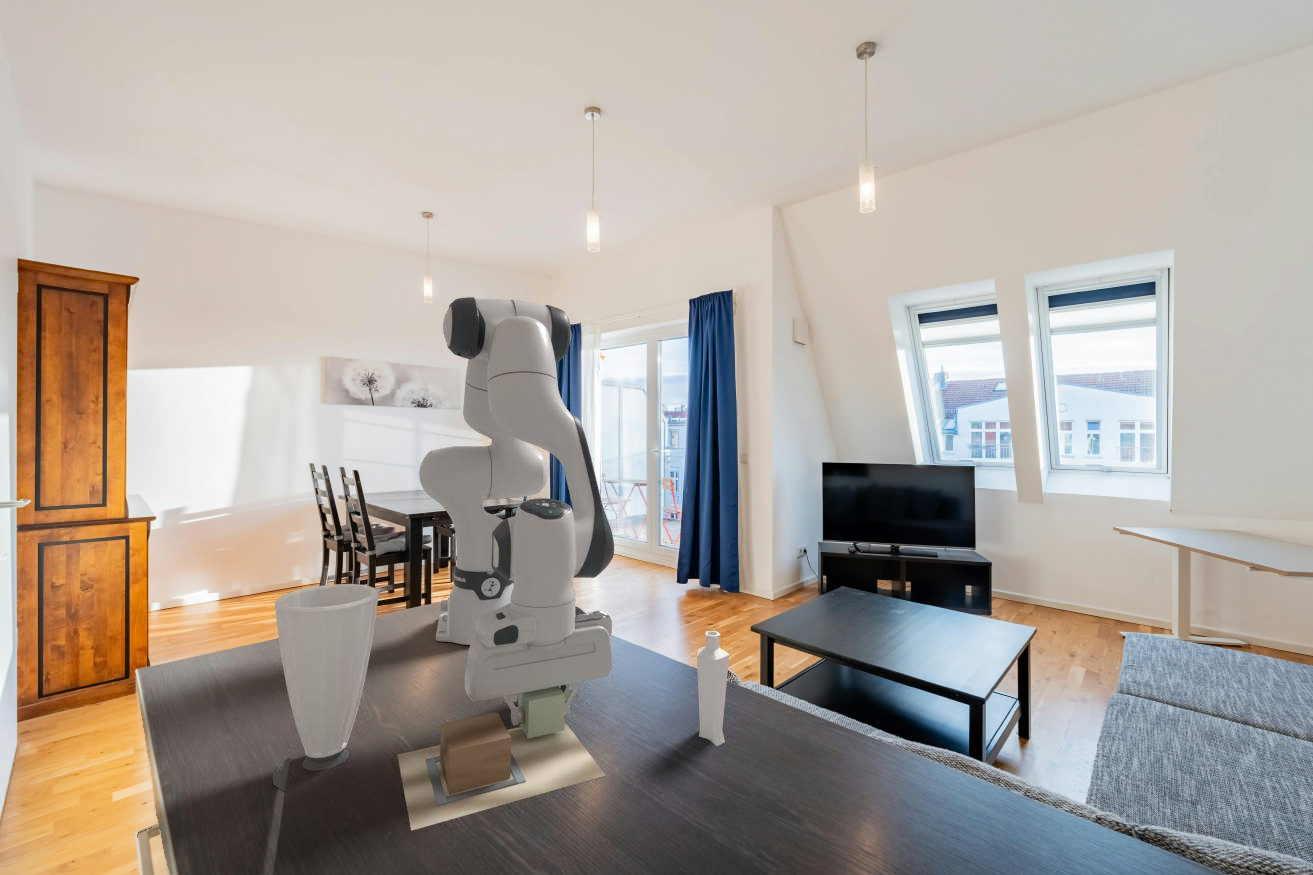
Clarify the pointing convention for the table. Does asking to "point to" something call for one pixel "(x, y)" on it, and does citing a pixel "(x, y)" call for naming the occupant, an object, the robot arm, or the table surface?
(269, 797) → the table surface
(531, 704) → the top block
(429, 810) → the build board
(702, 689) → the perfume bottle
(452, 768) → the base block
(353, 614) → the cup
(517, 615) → the robot arm
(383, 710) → the table surface
